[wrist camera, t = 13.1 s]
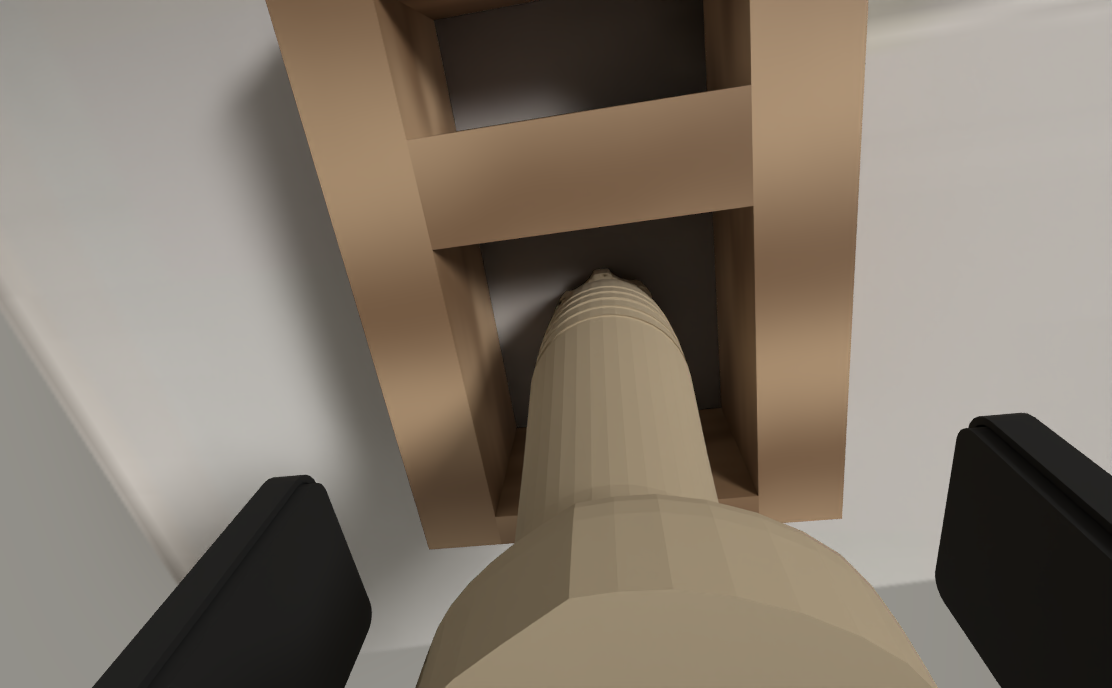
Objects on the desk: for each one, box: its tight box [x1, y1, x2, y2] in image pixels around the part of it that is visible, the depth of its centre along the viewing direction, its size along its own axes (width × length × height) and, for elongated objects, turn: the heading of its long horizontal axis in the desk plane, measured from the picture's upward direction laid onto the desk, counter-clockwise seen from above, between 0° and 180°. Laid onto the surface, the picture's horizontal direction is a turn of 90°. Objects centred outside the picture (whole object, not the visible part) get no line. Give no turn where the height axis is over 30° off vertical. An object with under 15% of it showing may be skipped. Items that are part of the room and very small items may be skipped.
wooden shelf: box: [266, 0, 868, 549], centre depth 16 cm, size 16×12×5 cm
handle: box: [416, 269, 938, 688], centre depth 12 cm, size 5×6×15 cm
